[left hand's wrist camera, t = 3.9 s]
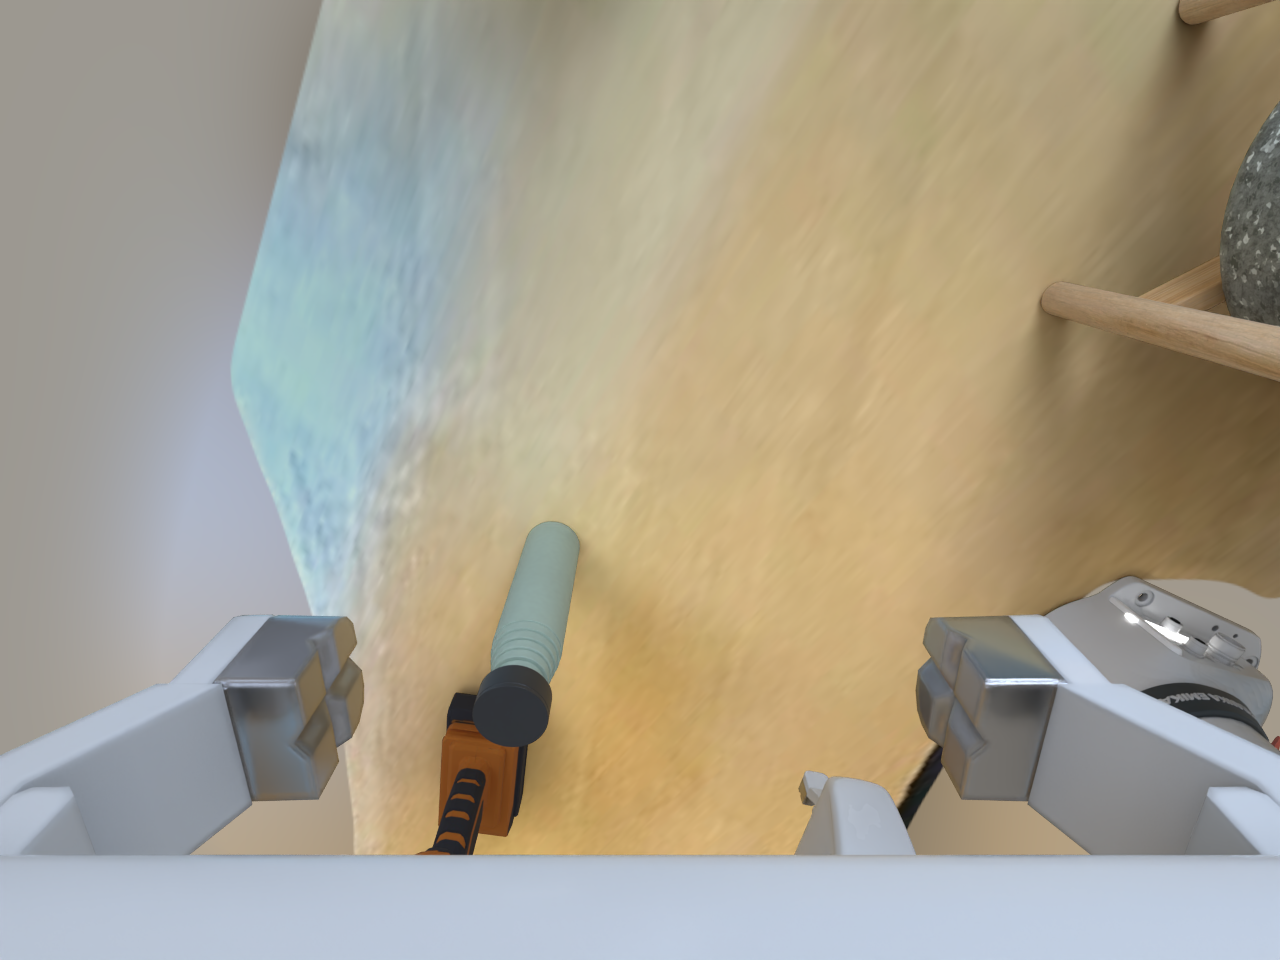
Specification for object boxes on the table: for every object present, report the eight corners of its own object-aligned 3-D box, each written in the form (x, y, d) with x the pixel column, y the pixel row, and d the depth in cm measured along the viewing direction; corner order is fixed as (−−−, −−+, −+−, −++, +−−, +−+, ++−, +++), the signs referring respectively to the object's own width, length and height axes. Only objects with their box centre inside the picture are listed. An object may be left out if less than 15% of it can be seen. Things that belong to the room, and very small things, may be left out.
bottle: (560, 579, 64) (523, 756, 44) (515, 551, 63) (456, 719, 43) (590, 540, 63) (566, 705, 43) (545, 511, 62) (499, 666, 42)
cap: (526, 735, 46) (521, 759, 44) (465, 700, 45) (457, 723, 43) (566, 688, 44) (563, 710, 42) (504, 651, 43) (498, 673, 41)
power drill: (517, 847, 76) (463, 1136, 53) (446, 840, 76) (360, 1127, 52) (535, 678, 68) (480, 929, 45) (456, 668, 68) (360, 917, 44)
